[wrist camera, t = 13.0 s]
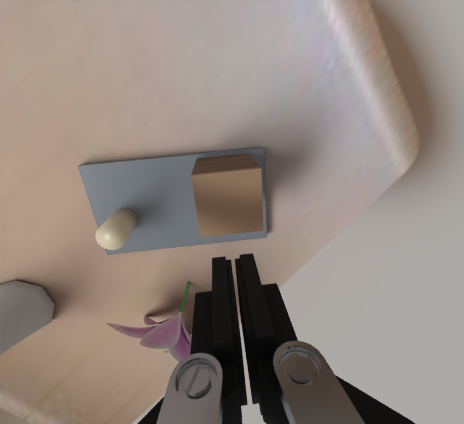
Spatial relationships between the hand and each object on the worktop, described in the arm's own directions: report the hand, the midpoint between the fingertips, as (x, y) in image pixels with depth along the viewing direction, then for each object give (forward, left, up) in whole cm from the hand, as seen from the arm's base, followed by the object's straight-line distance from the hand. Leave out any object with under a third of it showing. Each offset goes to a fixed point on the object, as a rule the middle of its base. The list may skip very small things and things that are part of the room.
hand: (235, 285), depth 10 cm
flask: (+13, -26, -17) cm, 34 cm away
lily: (+16, -8, -17) cm, 25 cm away
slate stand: (+2, -5, -17) cm, 18 cm away
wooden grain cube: (0, 0, -16) cm, 16 cm away
